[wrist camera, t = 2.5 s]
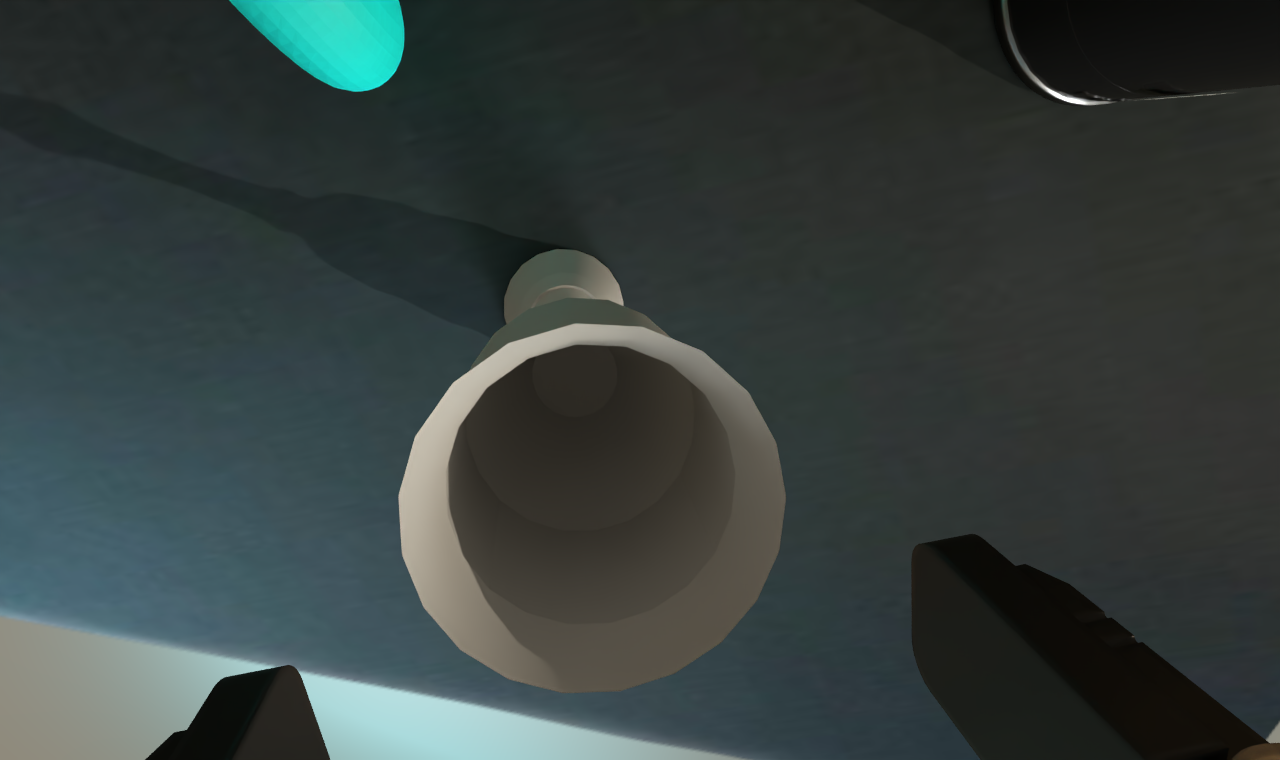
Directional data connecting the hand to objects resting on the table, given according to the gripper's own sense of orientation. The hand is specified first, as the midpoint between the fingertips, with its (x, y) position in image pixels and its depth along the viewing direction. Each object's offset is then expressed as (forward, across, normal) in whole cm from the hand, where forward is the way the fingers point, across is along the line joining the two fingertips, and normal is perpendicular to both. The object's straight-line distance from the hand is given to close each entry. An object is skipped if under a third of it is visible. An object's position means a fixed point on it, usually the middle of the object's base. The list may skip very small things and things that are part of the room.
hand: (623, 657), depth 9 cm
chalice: (+22, 0, 0) cm, 22 cm away
